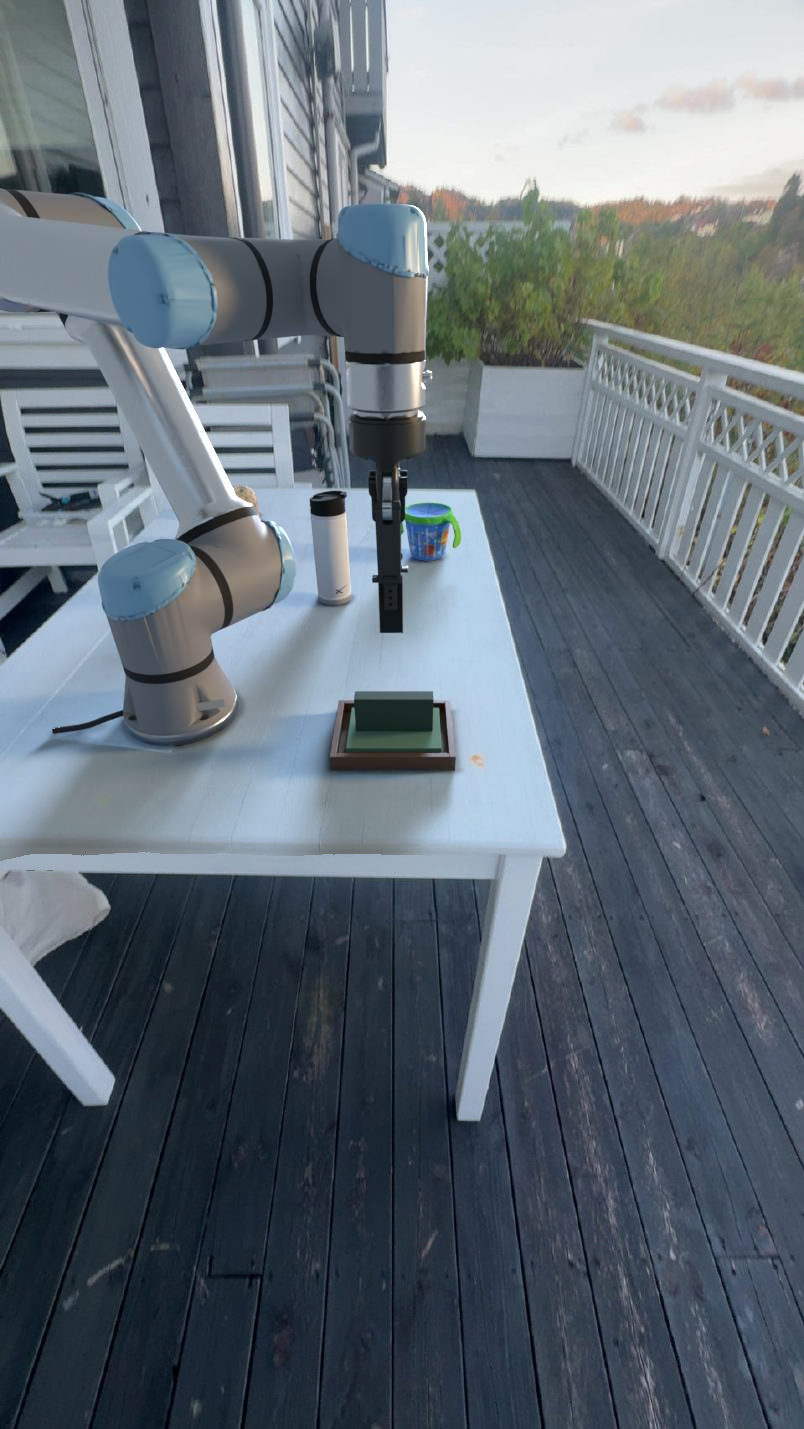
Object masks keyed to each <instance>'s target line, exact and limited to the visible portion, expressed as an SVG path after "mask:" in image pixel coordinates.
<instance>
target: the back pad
mask: <svg viewBox="0 0 804 1429" xmlns="http://www.w3.org/2000/svg"><path fill="white" fill-rule="evenodd" d="M353 700H354V708H352V709H351V716H350V723H349V731H348V738H347V745H346V753H441V733H440V717H439V708H433V700H434V691H432V690H421V691H420V690H380V691H379V690H355V691H354V697H353Z"/></svg>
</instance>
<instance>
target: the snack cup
mask: <svg viewBox="0 0 804 1429" xmlns="http://www.w3.org/2000/svg"><path fill="white" fill-rule="evenodd" d="M453 511H454V510H453V508H452V506H450V505H447V504H445V503H439V502H418V503H413V504H409V505H408V506H405V520H404V521H403V522H401V536H402V535H403V534H404V533H405V530H406V535H407V542H408V547H409V553H410V555H411V558H413V559H415V560H418V561H425V562H430V561H431V562H432V561H437V560H439V559H443V557H444V556H445V554H446V549H447V543H448V538H449V531H450V526H452V529H453V534H454V538H453V542H452V548H453V549H456V548H458V547H459V546H460V544H461V542H462V532H461V527H460V524H459V521H458V519H457V518H456V516H454V514H453V513H454V512H453ZM404 522H405V528H404Z"/></svg>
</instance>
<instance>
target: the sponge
mask: <svg viewBox="0 0 804 1429" xmlns="http://www.w3.org/2000/svg"><path fill="white" fill-rule="evenodd" d="M232 488H233V490H234V491H235V492H236V493H237V494H238V497H240V499H245V501H246V502H248V503H251V504H253V506H254V508H255V510H256V512H257V514H258V516H259V517H260V510H259V501H258V499H257V494H256V493H255V491H254V490H253V489H252V488H251V487H249V486H247V485H238V486H232Z"/></svg>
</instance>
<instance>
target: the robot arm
mask: <svg viewBox="0 0 804 1429" xmlns="http://www.w3.org/2000/svg"><path fill="white" fill-rule="evenodd" d="M427 236H428V235H427V221H426V217H425V215H424V213H423V211H421V209H420V208H419V207H416V206H414V205H411V204H405V203H404V204H403V203H361V204H359V203H358V204H352V205H347V206H344V207H342V208H341V210H339V213H338V217H337V233H336V237H332V238H321V239H320V238H306V239H303V238H301V239H300V238H299V239H297V238H296V239H290V238H289V239H287V238H262V237H261V238H260V237H259V238H258V237H233V236H232V237H221V236H206V235H205V236H204V235H190V234H178V233H169V232H161V231H148V230H142V228H141V227H140V226H139V224H138V222H137V221H136V219H134V217H133V216H132V215H131V214H130V213H129V212H128V211H127V210H126V209H125V208H124V207H123V206H121V205H120V204H119V203H117V202H116V201H113V200H111V199H108V198H106V197H101V196H93V195H91V194H88V193H84V192H70V193H67V194H66V193H55V192H43V191H31V190H21V189H8V188H7V189H6V188H1V187H0V311H1V312H2V311H4V312H7V313H35V314H37V313H55V314H57V316H58V318H59V319H60V321H61V323H62V326H63V327H64V329H65V332H66V333H67V334H68V336H69V337H70V338H71V339H72V340H74V341H77V342H79V343H82V344H84V345H86V346H87V347H88V349H89V351H90V352H91V354H92V356H93V359H94V360H95V362H96V364H97V366H98V368H99V371H100V372H101V374H102V377H103V378H104V379H105V382H106V384H107V386H108V387H109V390H110V391H111V394H112V396H113V397H114V399H115V400H116V403H117V405H118V407H119V408H120V411H121V412H122V414H123V416H124V418H125V420H126V422H127V424H128V426H129V428H130V430H131V432H132V433H133V436H134V437H135V440H136V442H137V444H138V445H139V447H140V449H141V451H142V453H143V455H144V457H145V459H146V461H147V463H148V464H149V467H150V468H151V470H152V472H153V474H154V476H155V478H156V480H157V482H158V484H159V486H160V488H161V490H162V491H163V493H164V496H165V497H166V499H167V501H168V503H169V505H170V507H171V509H172V512H173V513H174V515H175V517H176V519H177V521H178V524H179V525H178V527H177V531H176V534H175V537H174V538H175V539H174V538H158V539H155V540H152V541H150V542H149V541H143V542H139V543H135V544H133V545H130V546H127V547H126V548H123V549H121V550H120V551H118V552H116V553H114V554H113V555H112V556H110V557H109V558H108V559H107V560H106V561H105V562H104V563H103V565H102V566H101V568H100V571H99V572H98V575H97V585H98V589H99V594H100V599H101V607H102V610H103V613H104V614H105V616H106V620H107V622H108V625H109V629H110V632H111V635H112V637H113V640H114V644H115V647H116V650H117V653H118V656H119V660H120V663H121V666H122V669H123V671H124V672H123V673H124V676H125V681H124V694H123V704H122V705H123V707H122V709H121V710H118V711H115V712H112V713H109V714H106V715H103V716H101V717H98V718H96V719H93V720H90V721H88V722H87V721H86V722H82V723H78V724H71V725H64V726H56V727H54V728H55V729H51V732H52V734H53V735H55V734H62V733H64V734H65V733H71V732H72V733H73V732H77V731H84V730H88V729H90V728H95V727H97V726H99V725H101V724H105V723H107V722H109V721H113V720H115V719H119V718H121V717H123V721H124V724H125V727H126V730H127V732H128V734H130V736H131V737H133V738H134V739H136V740H137V741H140V742H142V743H145V744H148V745H153V746H161V747H162V746H163V747H166V746H167V747H168V746H169V747H171V746H179V745H180V746H181V745H186V744H190V743H195V742H197V741H201V740H203V739H206V738H208V737H211V736H213V735H215V734H217V733H218V732H220V731H222V730H223V729H224V728H225V727H227V726H228V725H229V724H230V723H231V722H232V721H233V719H234V718H235V717H236V714H237V712H238V709H239V702H238V701H239V700H238V697H237V692H236V689H235V688H234V686H233V684H232V682H231V681H230V679H229V677H228V676H227V675H226V673H225V671H224V670H223V668H222V667H221V665H220V663H219V662H218V660H217V658H216V656H215V652H214V647H213V646H214V645H213V641H212V635H214V634H215V633H217V632H219V631H221V630H223V629H225V628H228V627H230V626H233V625H234V624H235V625H236V624H237V623H239V622H242V621H243V620H245V619H248V618H249V617H252V616H254V615H256V614H258V613H260V612H261V613H262V612H265V611H267V610H269V609H271V608H273V607H274V605H276V604H278V603H280V602H281V601H283V600H285V599H286V598H287V597H288V596H289V595H290V593H291V591H292V590H293V588H294V585H295V582H296V581H295V578H296V576H297V559H296V555H295V551H294V548H293V545H292V542H291V540H290V538H289V536H288V534H287V533H286V532H285V530H284V529H283V528H282V527H281V526H278V525H277V523H276V522H274V521H272V520H269V519H264V518H262V519H261V518H260V515H259V516H258V514H257V512H256V510H255V508H254V506H253V504H251V503H248V502H246V501H244V500H241V499H239V498H238V497H237V496H236V494H235V492H234V490H233V486H232V484H231V481H230V480H229V478H228V475H227V474H226V471H225V469H224V467H223V465H222V463H221V461H220V459H219V457H218V455H217V452H216V451H215V448H214V447H213V445H212V443H211V441H210V438H209V436H208V435H207V433H206V430H205V429H204V426H203V424H202V423H201V420H200V418H199V416H198V414H197V412H196V410H195V408H194V406H193V404H192V402H191V400H190V397H189V395H188V394H187V392H186V390H185V388H184V385H183V384H182V382H181V379H180V378H179V376H178V374H177V372H176V369H175V367H174V364H173V363H172V361H171V359H170V357H169V355H168V352H167V351H166V349H169V350H170V349H171V350H191V349H193V348H195V347H200V346H209V345H218V344H227V343H234V342H243V341H244V342H249V341H259V340H269V339H270V340H271V339H282V338H290V337H302V336H304V337H305V336H315V337H317V336H318V337H319V336H320V337H337V338H343V345H344V346H343V348H344V374H345V375H344V376H345V393H346V406H347V407H349V408H350V410H352V411H353V412H351V414H350V416H349V417H347V418H348V438H349V451H350V453H351V454H352V455H353V456H354V457H356V458H357V459H361V460H364V461H367V460H370V461H372V462H374V463H375V470H373V469H371V470H369V476H368V478H367V480H368V482H367V483H368V495H369V496H370V498H371V519H372V521H373V522H374V524H375V540H376V542H375V543H376V562H377V563H376V564H377V574H372V576H371V577H372V578H371V583H373V584H377V585H378V586H377V588H378V612H379V613H378V616H379V617H378V618H379V619H378V620H379V633H380V634H403V633H404V596H403V595H404V592H403V590H404V584H403V583H404V582H403V581H404V580H403V579H404V578H403V577H404V576H403V574H408V573H409V569H408V568H409V565H408V564H402V560H403V555H404V554H403V552H402V535H401V522H403V523H404V522H405V507H406V497H407V495H408V490H409V489H408V470H407V469H401V466H400V462H401V461H403V460H407V461H408V460H412V459H417V458H418V457H420V456H422V455H423V454H424V452H425V450H426V436H427V435H426V433H427V432H426V430H427V429H426V428H427V425H426V423H427V416H425V413H424V412H423V411H421V409H422V408H423V407H424V406H425V405H426V386H425V384H428V383H432V381H433V378H434V376H433V372H432V371H430V370H425V369H426V366H427V364H426V359H427V348H426V336H427V334H426V333H427V332H426V331H427V309H428V286H429V285H428V284H429V275H430V266H429V265H428V239H427V238H428V237H427ZM58 727H60V728H58Z"/></svg>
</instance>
